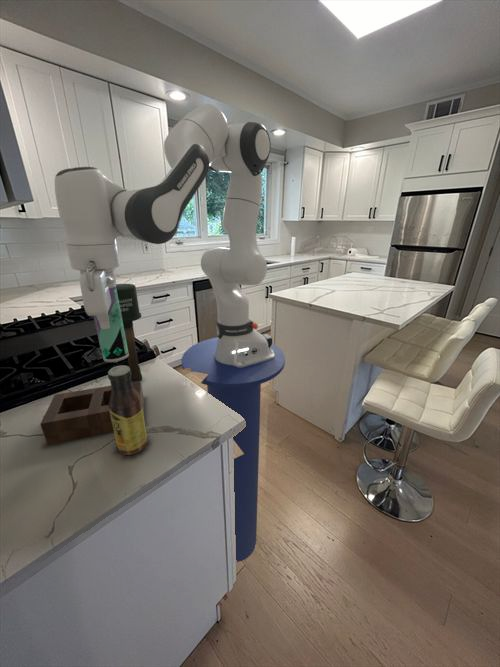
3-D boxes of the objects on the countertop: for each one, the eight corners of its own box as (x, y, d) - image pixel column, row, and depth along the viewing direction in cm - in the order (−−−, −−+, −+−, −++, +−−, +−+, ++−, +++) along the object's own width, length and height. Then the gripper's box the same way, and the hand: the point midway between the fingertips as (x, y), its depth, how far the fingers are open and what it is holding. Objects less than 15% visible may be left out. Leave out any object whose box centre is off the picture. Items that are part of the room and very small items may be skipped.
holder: (143, 398, 78) (140, 380, 76) (143, 425, 68) (140, 405, 66) (60, 413, 72) (54, 394, 69) (47, 445, 62) (40, 423, 60)
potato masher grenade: (115, 386, 84) (94, 288, 72) (134, 372, 91) (119, 282, 80) (138, 391, 81) (121, 291, 70) (156, 376, 89) (143, 284, 77)
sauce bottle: (116, 442, 63) (98, 365, 55) (144, 432, 66) (131, 358, 58) (120, 462, 58) (102, 381, 50) (151, 450, 61) (138, 372, 53)
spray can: (105, 353, 66) (86, 268, 59) (130, 350, 68) (114, 267, 60) (101, 363, 61) (79, 272, 54) (127, 360, 63) (110, 271, 56)
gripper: (106, 265, 48) (119, 338, 53) (116, 252, 66) (125, 308, 71) (64, 267, 46) (82, 342, 51) (86, 253, 64) (98, 310, 69)
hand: (107, 322), depth 61 cm, fingers closed on spray can, 5 cm apart
